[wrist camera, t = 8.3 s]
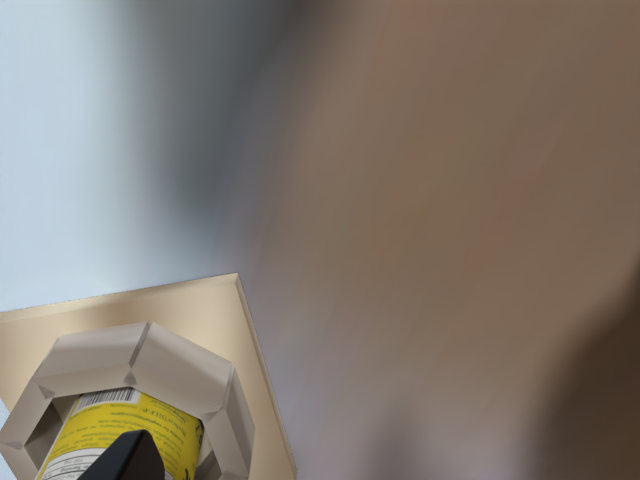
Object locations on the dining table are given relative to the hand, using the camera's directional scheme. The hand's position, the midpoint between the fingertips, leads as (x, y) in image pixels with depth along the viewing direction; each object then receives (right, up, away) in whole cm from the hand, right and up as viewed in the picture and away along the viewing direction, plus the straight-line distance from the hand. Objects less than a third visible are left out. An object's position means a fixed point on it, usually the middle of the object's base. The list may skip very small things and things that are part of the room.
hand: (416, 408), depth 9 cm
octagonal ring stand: (-9, -4, +16) cm, 19 cm away
